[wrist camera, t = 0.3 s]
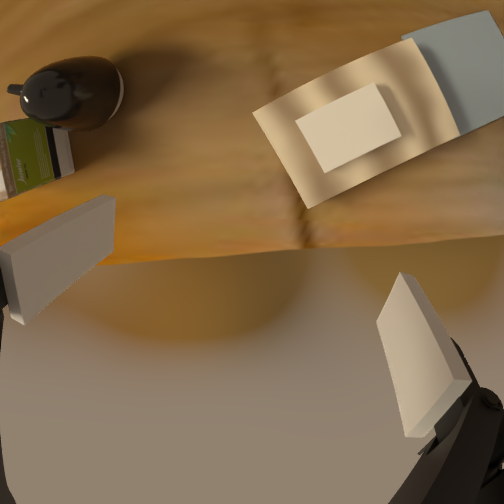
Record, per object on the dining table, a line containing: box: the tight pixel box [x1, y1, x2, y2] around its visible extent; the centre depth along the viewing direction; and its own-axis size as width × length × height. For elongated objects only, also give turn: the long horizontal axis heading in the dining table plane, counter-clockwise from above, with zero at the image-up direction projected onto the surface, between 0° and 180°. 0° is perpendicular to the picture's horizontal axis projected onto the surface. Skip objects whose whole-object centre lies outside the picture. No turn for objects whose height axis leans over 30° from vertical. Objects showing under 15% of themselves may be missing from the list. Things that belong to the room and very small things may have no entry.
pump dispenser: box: [7, 56, 124, 132], centre depth 29 cm, size 10×10×15 cm
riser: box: [253, 38, 460, 209], centre depth 31 cm, size 20×12×4 cm, turn 121°
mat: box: [401, 10, 504, 139], centre depth 26 cm, size 16×14×1 cm
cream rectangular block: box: [295, 82, 401, 173], centre depth 29 cm, size 9×6×2 cm, turn 121°
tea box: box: [0, 118, 75, 202], centre depth 34 cm, size 15×10×15 cm
